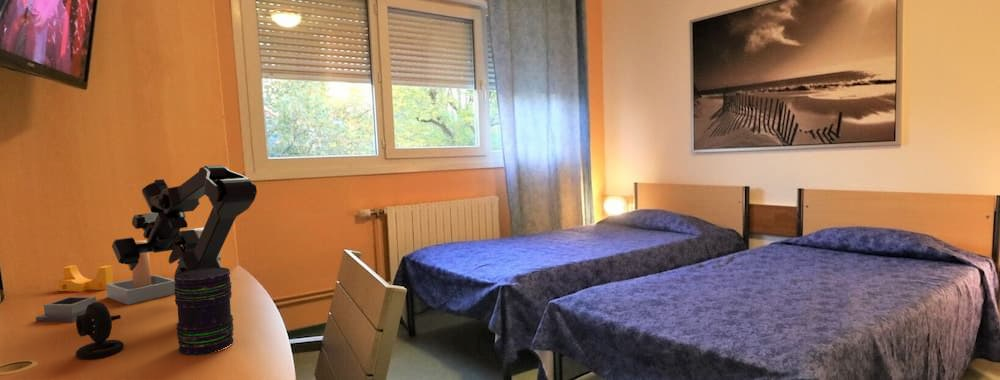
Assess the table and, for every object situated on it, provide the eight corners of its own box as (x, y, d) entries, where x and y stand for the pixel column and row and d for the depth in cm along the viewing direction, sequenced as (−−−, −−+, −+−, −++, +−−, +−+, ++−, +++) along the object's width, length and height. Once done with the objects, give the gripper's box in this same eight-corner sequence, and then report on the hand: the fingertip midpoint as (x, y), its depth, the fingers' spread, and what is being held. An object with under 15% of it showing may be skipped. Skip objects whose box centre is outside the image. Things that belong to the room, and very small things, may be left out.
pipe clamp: (59, 292, 147) (57, 269, 146) (72, 287, 151) (70, 265, 150) (102, 292, 146) (100, 269, 146) (113, 287, 151) (112, 265, 150)
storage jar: (227, 333, 113) (223, 264, 112) (240, 346, 106) (236, 273, 104) (173, 345, 107) (168, 272, 105) (183, 360, 99) (178, 282, 98)
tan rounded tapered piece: (155, 292, 143) (152, 241, 141) (137, 296, 139) (133, 243, 138) (148, 289, 145) (144, 239, 144) (130, 293, 142) (126, 242, 140)
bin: (177, 293, 144) (176, 280, 144) (127, 304, 134) (126, 291, 134) (156, 286, 151) (155, 274, 150) (107, 297, 141) (106, 284, 140)
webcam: (69, 354, 102) (65, 304, 102) (114, 342, 109) (111, 294, 108) (84, 363, 98) (80, 311, 97) (130, 350, 104) (127, 300, 103)
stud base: (104, 309, 130) (103, 295, 130) (72, 321, 121) (71, 307, 121) (70, 308, 131) (69, 295, 130) (36, 321, 122) (34, 306, 121)
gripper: (193, 199, 141) (177, 236, 148) (111, 206, 126) (97, 248, 133) (210, 231, 137) (192, 267, 145) (127, 242, 122) (112, 282, 129)
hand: (150, 265), depth 138 cm, fingers open, 9 cm apart
